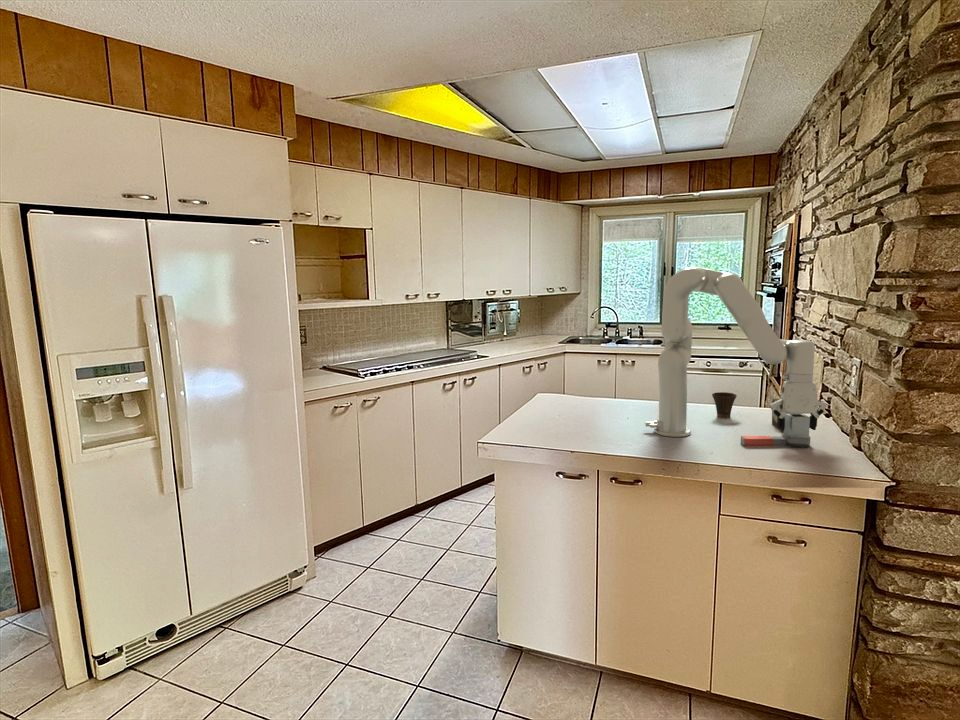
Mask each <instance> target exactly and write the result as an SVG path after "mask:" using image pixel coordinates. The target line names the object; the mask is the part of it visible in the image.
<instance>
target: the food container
mask: <svg viewBox="0 0 960 720" xmlns="http://www.w3.org/2000/svg"><path fill="white" fill-rule="evenodd" d="M778 400H780V398H771V403H773V402H775V401H778ZM776 409H777V411H779V410H780V405H779V406H777V407H776ZM771 426H772V427H774V428H775V430H778V431H779V432H780V433H784V430H781V429H779V428H778V426H777V416H776V415H775V414H774V413H773V412H772V411H771Z"/></svg>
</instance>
